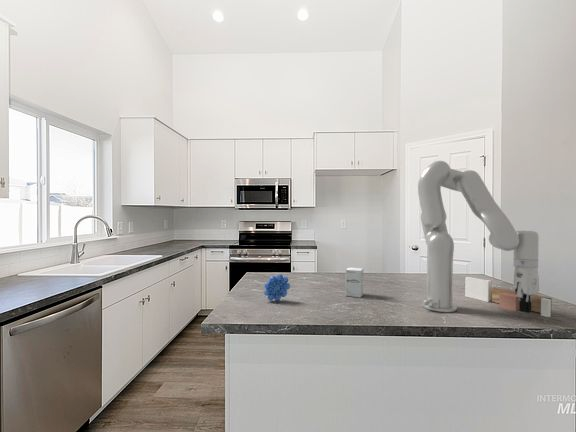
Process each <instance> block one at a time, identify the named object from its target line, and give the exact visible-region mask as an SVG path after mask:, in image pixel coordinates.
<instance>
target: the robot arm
mask: <svg viewBox="0 0 576 432" xmlns="http://www.w3.org/2000/svg"><path fill="white" fill-rule="evenodd" d="M417 183H418V184H417V192H418V193H417V194H418V199H419V200H418V201H419V205H420V210H421V214H420V220H421V226H422V231H423V235H424V240H425V244H426V245H427V250H426V251H427V255H426V297H425V300H424V299H423V300H421V301H420V304H421V306H422V307H423V308H425V309H426V310H430V311H434V312H437V313H453V312H456V311H458V307H457V306H456V305H455V304H454V303H453V300H454V299H453V298H454V297H453V295H454V294H453V289H454V287H453V286H454V281H453V278H454V277H453V272H454V271H453V269H454V251H455V249H454V248H455V243H454V239H453V237H452V235H450V234H449V231H448V228H447V227H448V226H447V223H446V221H447V213H446V209H445V206H444V202H443V196H442V191H441V189H442V188H446V189H449V190H452V191H456V192H460V193H461V194H462V197H463V198H464V199H465V201H466V203H467V205H468V206H469V209H470V210H471V212H472V214H474V216H475V217H476V218H478V219H479V220H480V221H481V222H483V224H484V225H485V227H486V228H487V230H488V231H489V232H490V233H489V236H488V242H489V244H491V246H492V247H494V248H496V249H499V250H501V251H506V252H510V251H511V252H512V251H513V266H512V267H513V268H514V270H513V271H514V273H513V291H514V292H515V293H517V297H519V301H520V304H519V310H518V311H519V312H522V313H527V314H529V313H532V311H531V302H530V301H532V295H537V293H539V291H540V281H539V280H540V279H539V276H540V275H539V240H540V239H539V238H540V237H539V233H538V232H537V231H534V230H517V231H516V229H515V227H514V226H513V224H512V222H511V221H510V219H509V218H508V216H507V215H506V214H505V213H504V211H503V210H502V209H501V208H500V206H499V205H498V203H497V202H496V201H495V199H494V197H493V196H492V194H491V192H490V191H489V189H488V188H487V185H486V183H484V180H483V179H482V177H481V176H480V174H479V173H478V172H477V171H475V170H472V169H469V170H463V171H461V170H457V169H454V168H451V166H450V165H449V163H447V162H446V161H444V160H436V161H434V162H432V163H430V164H429V165H428V166H427V167H426V168H425V169H424V170H423V171H422V173H421V174H420V177H419V180H418V182H417ZM441 187H442V188H441Z"/></svg>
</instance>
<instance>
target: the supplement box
mask: <svg viewBox="0 0 576 432" xmlns="http://www.w3.org/2000/svg"><path fill="white" fill-rule="evenodd" d="M344 295H345V297H354V298H358V299H361V298H362V296H363V295H364V268H363V267H361V268H360V267H347V268H346V269H345V294H344Z"/></svg>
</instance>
